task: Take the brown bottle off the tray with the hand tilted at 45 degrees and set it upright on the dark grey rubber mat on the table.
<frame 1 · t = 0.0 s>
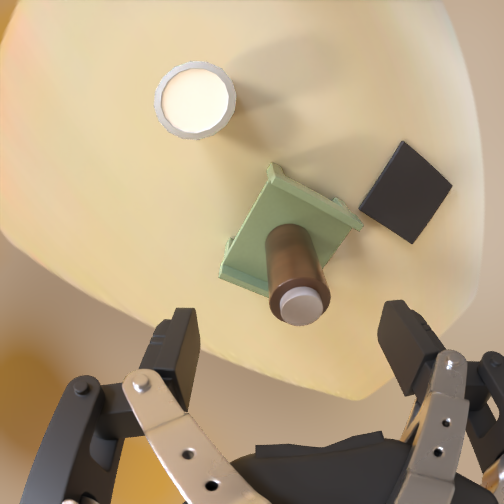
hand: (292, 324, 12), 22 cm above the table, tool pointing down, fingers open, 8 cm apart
tray: (283, 223, 34), on the table
mat: (408, 195, 32), on the table
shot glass: (206, 98, 27), on the table
brown bottle: (288, 244, 30), point 5 cm above the table, touching tray
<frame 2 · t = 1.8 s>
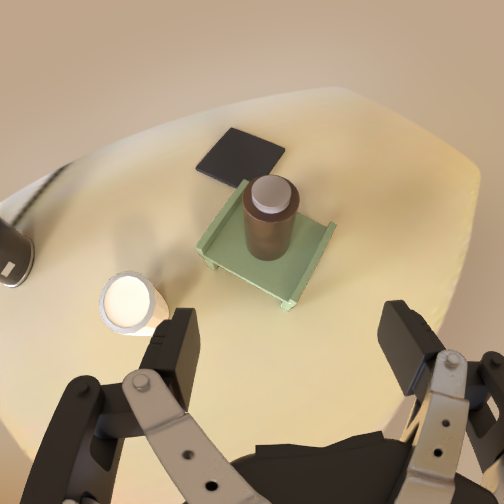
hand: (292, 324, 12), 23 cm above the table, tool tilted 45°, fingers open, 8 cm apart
tray: (266, 257, 37), on the table
mat: (241, 159, 43), on the table
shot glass: (148, 314, 34), on the table
brown bottle: (267, 241, 32), point 5 cm above the table, touching tray
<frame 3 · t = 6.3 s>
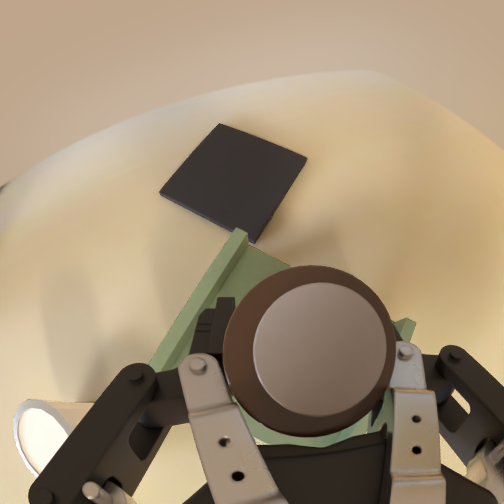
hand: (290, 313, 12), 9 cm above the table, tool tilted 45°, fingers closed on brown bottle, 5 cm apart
tray: (278, 359, 20), on the table
mat: (234, 176, 26), on the table
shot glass: (96, 433, 18), on the table
brown bottle: (284, 358, 15), point 5 cm above the table, touching gripper, tray
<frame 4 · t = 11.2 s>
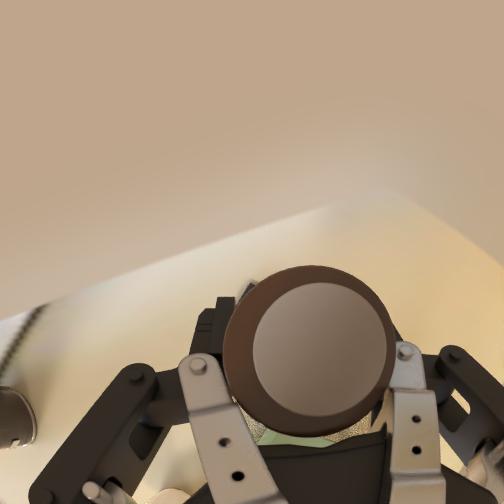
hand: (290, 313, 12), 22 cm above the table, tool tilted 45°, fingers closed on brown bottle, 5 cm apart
tray: (295, 462, 27), on the table
brown bottle: (284, 358, 15), point 18 cm above the table, touching gripper
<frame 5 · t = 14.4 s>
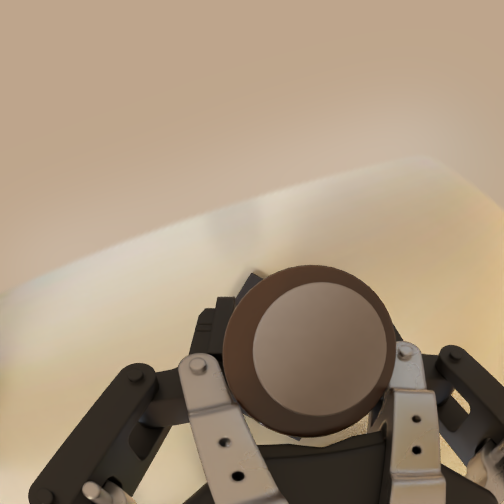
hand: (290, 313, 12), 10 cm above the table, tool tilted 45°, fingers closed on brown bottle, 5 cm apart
mat: (275, 358, 21), on the table
brown bottle: (284, 358, 15), point 6 cm above the table, touching gripper
when the fingers open (5 cm above the table, at t = 16.5 s): brown bottle stays where it is, resting on mat.
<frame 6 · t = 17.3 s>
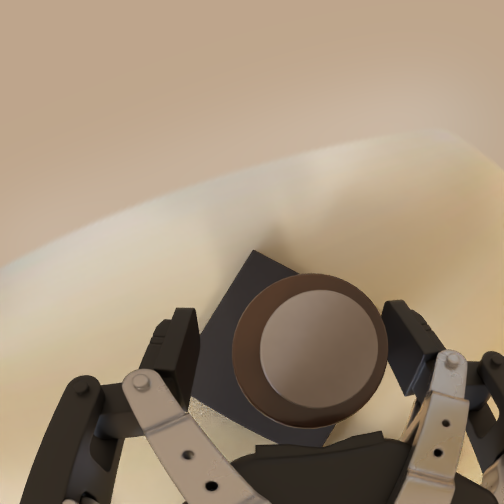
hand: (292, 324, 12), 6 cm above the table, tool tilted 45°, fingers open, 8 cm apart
mat: (283, 356, 17), on the table
brown bottle: (286, 357, 16), point 1 cm above the table, touching mat
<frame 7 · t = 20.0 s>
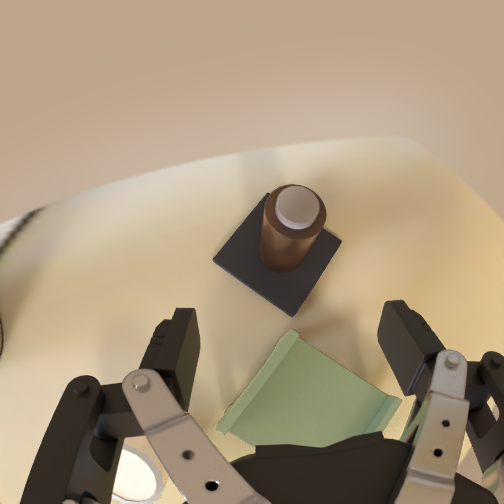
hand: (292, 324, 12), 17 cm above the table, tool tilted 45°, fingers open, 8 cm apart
tray: (300, 406, 25), on the table
mat: (279, 251, 31), on the table
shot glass: (149, 452, 23), on the table
brown bottle: (281, 250, 30), point 1 cm above the table, touching mat
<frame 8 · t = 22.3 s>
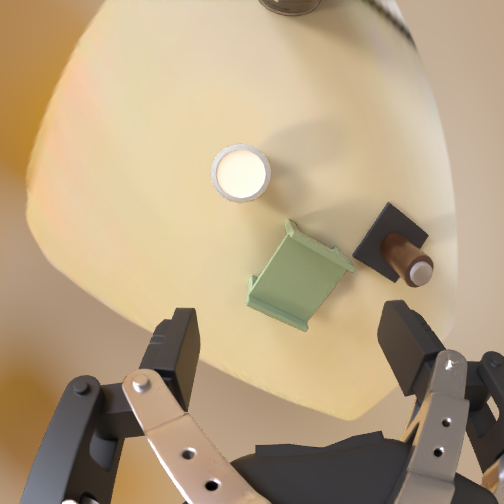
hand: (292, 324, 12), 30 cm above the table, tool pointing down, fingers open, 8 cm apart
tray: (294, 265, 44), on the table
mat: (391, 244, 42), on the table
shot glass: (242, 166, 38), on the table
brown bottle: (392, 246, 42), point 1 cm above the table, touching mat
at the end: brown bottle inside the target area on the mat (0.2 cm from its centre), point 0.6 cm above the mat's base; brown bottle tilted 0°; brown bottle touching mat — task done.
